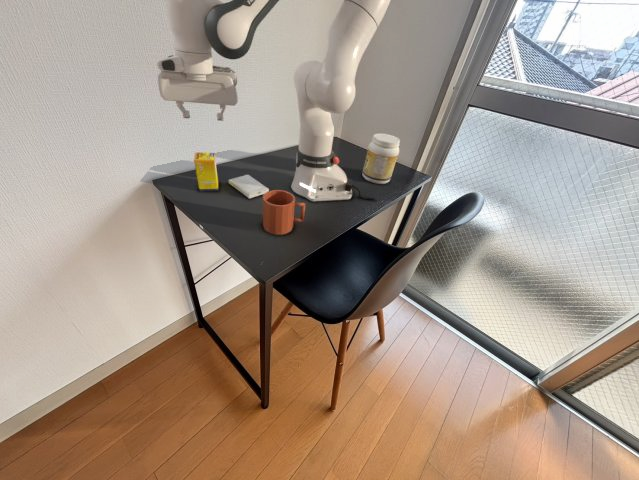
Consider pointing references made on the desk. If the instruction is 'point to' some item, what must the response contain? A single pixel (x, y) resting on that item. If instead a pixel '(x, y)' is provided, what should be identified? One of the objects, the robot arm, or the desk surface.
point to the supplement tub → (381, 158)
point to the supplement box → (206, 171)
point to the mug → (280, 212)
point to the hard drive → (248, 186)
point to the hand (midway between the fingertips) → (203, 119)
